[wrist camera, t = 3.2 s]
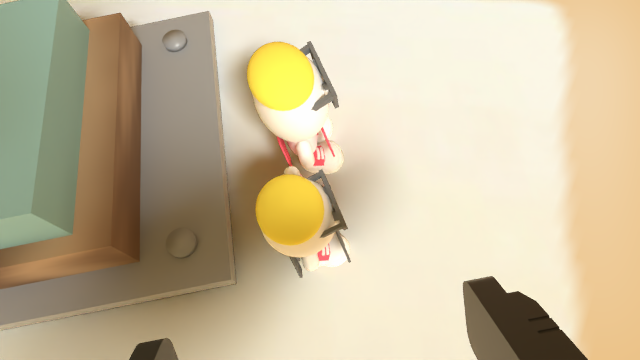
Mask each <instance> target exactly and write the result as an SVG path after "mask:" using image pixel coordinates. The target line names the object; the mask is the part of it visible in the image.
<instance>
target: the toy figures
mask: <svg viewBox="0 0 640 360" xmlns="http://www.w3.org/2000/svg"><path fill="white" fill-rule="evenodd" d="M308 53H311V57H312V60H313V62H312V61H311V60H310V59H309V58H307V57H306V56H305V55H307V54H308ZM247 81H248V84H249V88H250V90H251V92H252V94H253V100H254V104H255V108H256V110H257V113H258V115H259V117H260V119H261V120H262V122H263V123H264V124H265V126H266V127H267V128H268V129H269V130H270V131H271V132H272V133H273V134H275V135H276V136H277V139H278V143H279V145H280V147H281V149H282V151H283V154H284V156H285V158H286V160H287V162H288V164H289V167H287V168H286V169H285V171H284V175H281V176H277V177H275V178H273V179H272V180H270V181H269V182H267V183H266V184H265V185H264V187H263V188H262V189H261V191H260V193H259V195H258V197H257V201H256V207H255V211H256V218H257V222H258V224H259V226H260V228H261V231H262V233H263V235H264V237H265V239H266V240H267V242H268V243H269V244H270V245H271V246H272V247H273V248H274V249H275V250H277V251H278V252H280V253H282V254H284V255H287V256H290V259H291V261H292V263H293V265H294V267H295V269H296V271H297V273H298V275H299V276H300V278H302V269H301V266H300V264H299V262H298V261H300V257H301V259H302V262H303V266H304V268H305V269H306V270H308V271H314V270H316V269H317V268H318V266H325V265H326V266H329V267H336V266H339V265H341V264H342V263H344V262H345V261H346V260H347V259H348V262H349V263H350V262H351V261H350V258H349V253H350V245H349V242H348V241H347V239H346V238H344V237H343V236H341V235H340V232H339V230H340V229H342V228H343V229H344V230H346V229H348V228H347V226H346V223H345V221H344V219H343V216H342V214H341V212H340V209H339V207H338V205H337V203H336V200H335V198H334V195H333V193H332V190H331V187H330V185H329V183H328V181H327V179H326V176H325V174H332V173H335V172H336V171H338V170H339V169H340V168H341V166H342V164H343V153H342V151H341V149H340V148H339V146H338V145H337V144H336V143H334V142H331V141H329V140H328V138H329V137H330V135H331V134H332V131H333V125H332V122H331V120H330V118H329V116H328V109H329V103H330V102H331V101H332V103H333V105H334V107H335V108H338V107H339V105H338V99H337V95H336V92H335V90H334V88H333V86H332V84H331V82H330V80H329V78H328V76H327V74H326V72H325V70H324V68H323V66H322V64H321V62H320V59H319V57H318V55H317V53H316V51H315V49H314V47H313V45H312V43H311V41H309V42H307V45H306V46H304V47H303V48H302V49H300V50H299V49H298V48H296V47H294V46H293V45H290V44H288V43H284V42H272V43H268V44H265V45H263V46H262V47H260V48H259V49H257V50H256V51H255V52H254V54H253V55H252V57H251V59H250V61H249V64H248V68H247ZM283 139H284V140H286V141H287V143H288V145H289V147H290V149H291V150H292V151H293V152H294V153H295V154H296V155H298V157H299V161H300V163H301V165H302V166H303V168H304V169H305V170H307V171H309V172H312V173H316V174H314V175H312V176H311V177H309V178H303V176H302V175H301V174H300V172H299V170H298V169H297V168H296V167H294V166H292V163H291V158H290V155H289V153H288V151H287V148H286V145H285V143H284V140H283ZM317 142H318V143H319V142H321V143H320V144H318V145H317ZM324 173H325V174H324ZM319 178H322V180H323V183H324V185H325V186H324V187H323V186H322V185H321V184H319V183H317V182H315V181H316V180H318V179H319ZM335 232H336V234H335ZM296 258H297V259H296Z"/></svg>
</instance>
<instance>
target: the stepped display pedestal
mask: <svg viewBox="0 0 640 360" xmlns="http://www.w3.org/2000/svg"><path fill="white" fill-rule="evenodd" d="M232 284H236V275H235V264H234V252H233V241H232V230H231V218H230V207H229V196H228V185H227V173H226V162H225V151H224V139H223V128H222V117H221V105H220V94H219V83H218V72H217V60H216V49H215V38H214V26H213V20H212V18H211V15H210V13H209V11H206V12H202V13H197V14H192V15H187V16H182V17H177V18H173V19H168V20H163V21H158V22H153V23H149V24H144V25H139V26H134V27H130V26H129V25H128V23H127V22H126V20H125V19H124V17H123V16H122V14H121V13H116V14H112V15H107V16H102V17H97V18H92V19H88V20H83V21H82V20H81V19H80V17H79V16H78V15H77V13H76V12H75V11H74V10H73V8H72V7H71V6H70V4H69V3H68V2H67V1H66V0H19V1H14V2H9V3H5V4H0V330H5V329H10V328H15V327H21V326H26V325H31V324H36V323H41V322H46V321H51V320H56V319H61V318H66V317H71V316H76V315H81V314H86V313H91V312H96V311H101V310H106V309H111V308H116V307H121V306H126V305H131V304H136V303H141V302H146V301H151V300H156V299H161V298H166V297H171V296H177V295H182V294H187V293H192V292H197V291H202V290H207V289H212V288H217V287H222V286H227V285H232Z"/></svg>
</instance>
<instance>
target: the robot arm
mask: <svg viewBox="0 0 640 360" xmlns="http://www.w3.org/2000/svg"><path fill="white" fill-rule="evenodd" d="M463 295H464V305H465V315H466V326H467V333H468V337H469V341H470V344H471V347H472V349H473V352H474V354H475V356H476V357H477V359H478V360H588V359H587V358H586V357H585V356H584V355H583V354H582V352H581V351H580V350H579V349H578V348H577V347H576V346H575V344H574V343H573V342H572V341H571V340H570V339H569V338H568V337H567V335H566V334H565V333H564V332H563V331H562V330H560V329H559V326H558V325H557V324H556V323H555V322H554V321H553V320H552V318H549V315H548V314H547V313H546V312H545V311H544V309H543V308H542V307H541V306H540V305H539V304H538V303H537V302H536V301H535V300H533V299H531V298H529V297H527V296H526V295H524V294H522V293H520V292H519V291H517V292H512V293H506V292H505V290H504V289H503V288H502V287H501V285H500V284H499V283H498V282H497V280H496V279H495V278H494V277H492V276H490V277H485V278H480V279H474V280H469V281H464V283H463ZM129 360H178V358H177V355H176V352H175V350H174V347H173V345H172V342H171V341H170V340H169V339H168V338H165V339H160V340H155V341H150V342H145V343H140V344H138V345H137V346H136V348H135V350H134V352H133V354H132V355H131V357H130V359H129Z"/></svg>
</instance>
